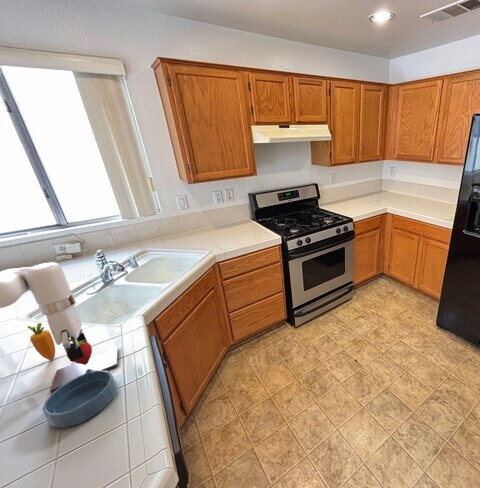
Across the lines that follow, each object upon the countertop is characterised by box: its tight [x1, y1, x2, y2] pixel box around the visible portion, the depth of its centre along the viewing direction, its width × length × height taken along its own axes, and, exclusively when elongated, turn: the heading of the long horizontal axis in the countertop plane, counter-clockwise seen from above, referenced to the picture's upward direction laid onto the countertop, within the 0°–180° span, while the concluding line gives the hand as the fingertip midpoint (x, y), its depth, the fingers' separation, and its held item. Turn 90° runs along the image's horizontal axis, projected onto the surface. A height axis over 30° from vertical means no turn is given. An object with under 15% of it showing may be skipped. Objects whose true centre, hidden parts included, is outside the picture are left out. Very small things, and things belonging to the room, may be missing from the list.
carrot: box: [27, 322, 56, 361], centre depth 89 cm, size 5×5×15 cm
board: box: [49, 347, 119, 394], centre depth 86 cm, size 16×10×1 cm, turn 127°
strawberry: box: [66, 340, 93, 365], centre depth 84 cm, size 6×8×10 cm
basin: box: [42, 370, 118, 429], centre depth 73 cm, size 14×14×5 cm
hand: (79, 351), depth 84 cm, fingers closed on strawberry, 7 cm apart
